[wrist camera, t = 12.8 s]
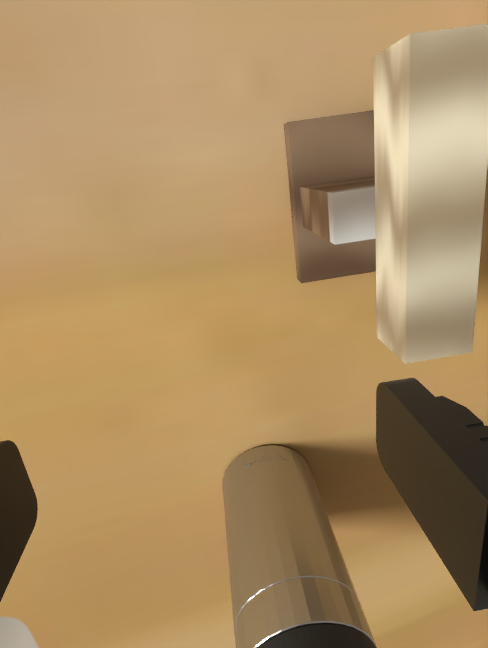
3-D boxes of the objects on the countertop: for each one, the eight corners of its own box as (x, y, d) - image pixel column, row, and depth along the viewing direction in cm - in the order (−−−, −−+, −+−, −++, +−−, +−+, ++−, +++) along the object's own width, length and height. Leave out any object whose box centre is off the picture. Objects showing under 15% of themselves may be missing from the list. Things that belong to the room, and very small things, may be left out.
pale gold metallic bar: (373, 57, 21) (410, 33, 18) (447, 47, 22) (499, 22, 18) (376, 336, 27) (405, 363, 23) (434, 327, 27) (472, 352, 24)
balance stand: (410, 260, 36) (480, 291, 27) (297, 278, 35) (330, 315, 26) (412, 106, 31) (497, 82, 22) (284, 124, 31) (318, 106, 22)
